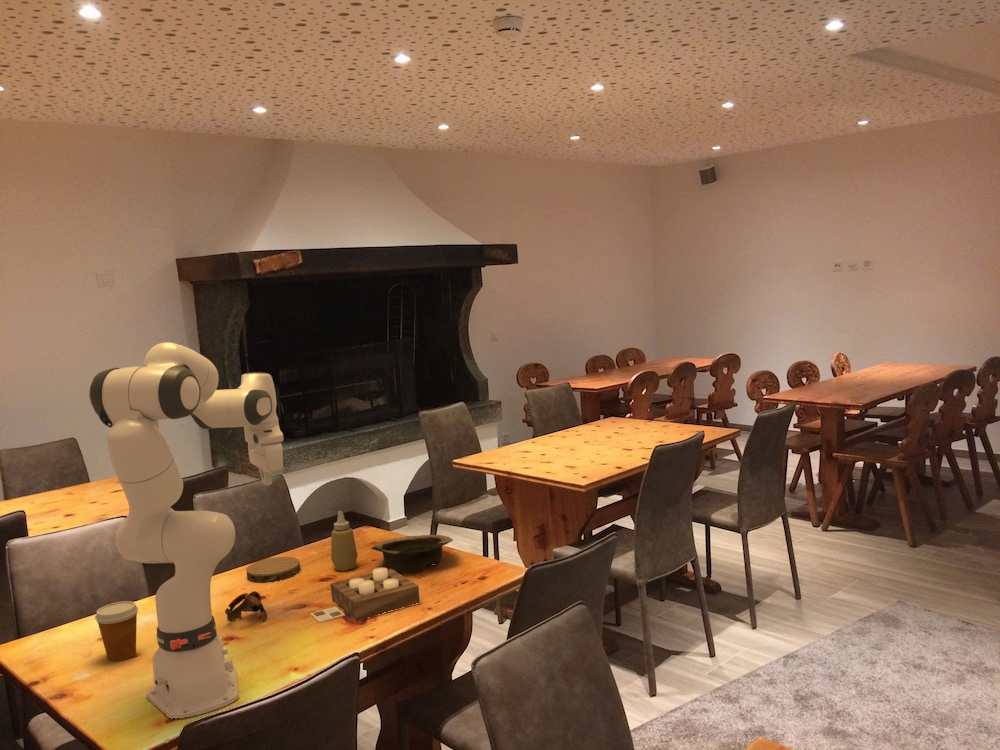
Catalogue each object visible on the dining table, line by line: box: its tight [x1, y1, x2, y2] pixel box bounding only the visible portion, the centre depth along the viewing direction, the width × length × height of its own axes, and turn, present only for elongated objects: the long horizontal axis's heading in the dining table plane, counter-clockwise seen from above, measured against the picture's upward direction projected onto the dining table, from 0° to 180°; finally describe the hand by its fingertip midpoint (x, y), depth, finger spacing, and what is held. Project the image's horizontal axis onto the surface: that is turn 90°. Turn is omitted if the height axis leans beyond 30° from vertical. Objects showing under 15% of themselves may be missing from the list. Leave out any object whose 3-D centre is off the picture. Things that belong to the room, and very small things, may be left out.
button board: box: [330, 568, 421, 622], centre depth 222 cm, size 18×18×5 cm
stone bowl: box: [371, 534, 454, 574], centre depth 251 cm, size 25×25×9 cm
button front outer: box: [383, 579, 399, 590], centre depth 220 cm, size 4×4×5 cm
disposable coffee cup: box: [94, 600, 139, 662], centre depth 198 cm, size 10×10×12 cm
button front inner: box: [358, 580, 375, 596], centre depth 217 cm, size 4×4×5 cm
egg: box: [349, 577, 364, 589], centre depth 223 cm, size 4×4×5 cm
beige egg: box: [372, 567, 388, 583], centre depth 226 cm, size 4×4×5 cm
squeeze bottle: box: [330, 510, 358, 571], centre depth 251 cm, size 8×8×18 cm
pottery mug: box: [224, 590, 268, 623], centre depth 216 cm, size 12×10×8 cm
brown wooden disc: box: [245, 556, 301, 584], centre depth 252 cm, size 16×16×3 cm
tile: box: [310, 606, 346, 624], centre depth 215 cm, size 7×7×1 cm
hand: (267, 484), depth 217 cm, fingers closed
